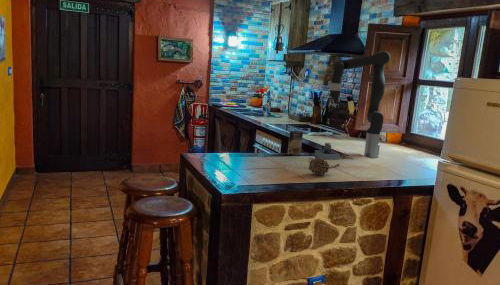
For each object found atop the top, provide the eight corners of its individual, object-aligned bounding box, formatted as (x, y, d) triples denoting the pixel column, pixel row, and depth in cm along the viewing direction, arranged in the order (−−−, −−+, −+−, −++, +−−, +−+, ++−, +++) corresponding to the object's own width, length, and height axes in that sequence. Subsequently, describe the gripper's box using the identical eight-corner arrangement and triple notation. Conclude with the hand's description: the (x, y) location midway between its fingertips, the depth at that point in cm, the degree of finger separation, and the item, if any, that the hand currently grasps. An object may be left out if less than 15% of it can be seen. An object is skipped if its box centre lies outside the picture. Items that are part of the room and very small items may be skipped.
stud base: (346, 157, 292) (347, 151, 291) (354, 161, 282) (355, 154, 281) (332, 157, 289) (333, 151, 288) (340, 161, 278) (341, 154, 278)
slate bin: (329, 157, 289) (330, 150, 288) (339, 161, 277) (339, 154, 276) (314, 157, 285) (315, 150, 285) (323, 161, 273) (323, 154, 273)
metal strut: (328, 157, 284) (329, 142, 282) (331, 158, 280) (332, 144, 278) (322, 157, 283) (323, 142, 281) (325, 158, 278) (326, 144, 277)
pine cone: (314, 178, 229) (316, 160, 227) (303, 173, 237) (305, 156, 235) (343, 175, 241) (345, 158, 239) (331, 171, 249) (333, 154, 247)
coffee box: (287, 154, 288) (289, 131, 285) (287, 152, 295) (289, 130, 292) (300, 155, 287) (302, 132, 285) (300, 154, 294) (302, 131, 291)
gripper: (345, 90, 288) (342, 114, 291) (335, 89, 301) (332, 111, 304) (335, 90, 286) (333, 113, 288) (325, 88, 299) (323, 111, 302)
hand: (332, 112), depth 296 cm, fingers open, 8 cm apart
